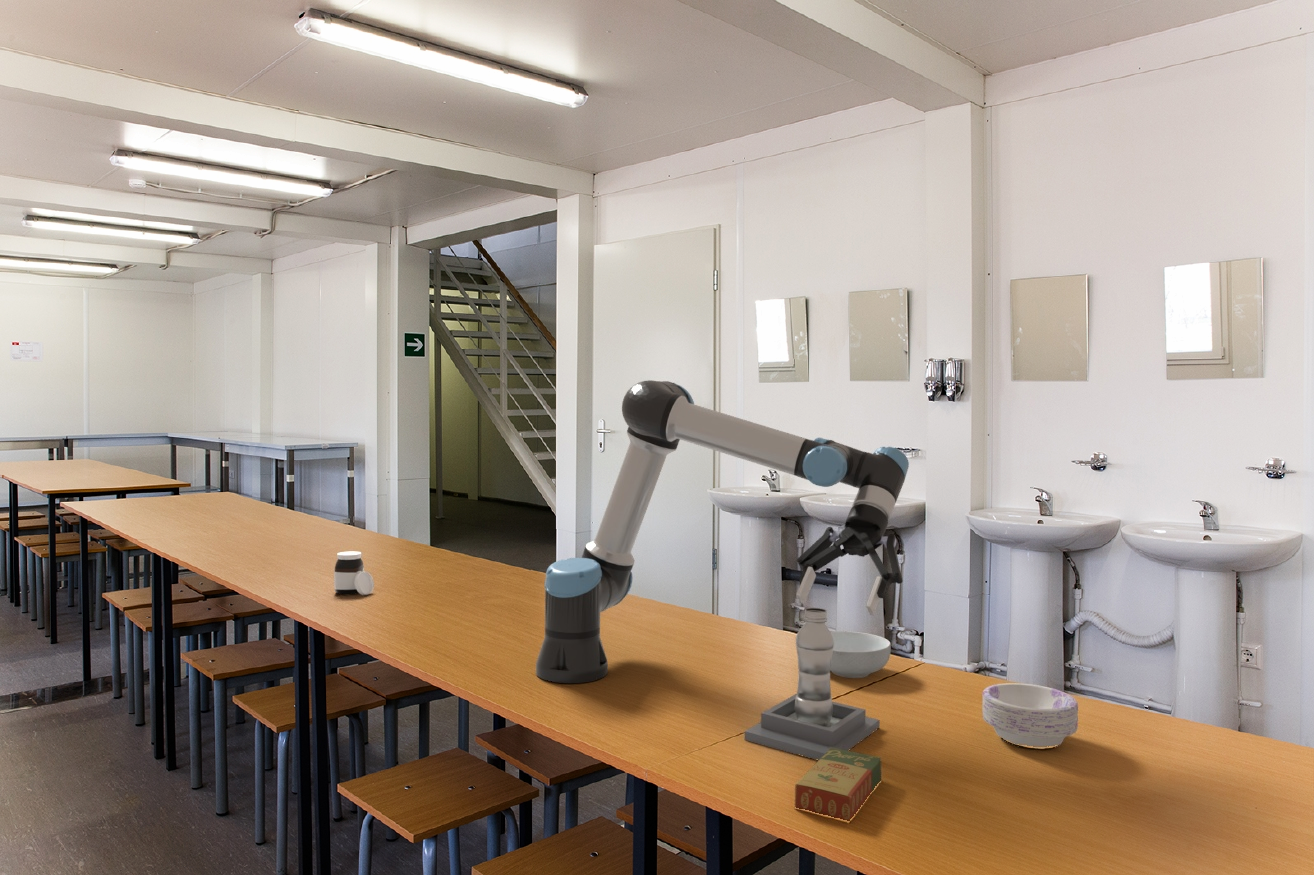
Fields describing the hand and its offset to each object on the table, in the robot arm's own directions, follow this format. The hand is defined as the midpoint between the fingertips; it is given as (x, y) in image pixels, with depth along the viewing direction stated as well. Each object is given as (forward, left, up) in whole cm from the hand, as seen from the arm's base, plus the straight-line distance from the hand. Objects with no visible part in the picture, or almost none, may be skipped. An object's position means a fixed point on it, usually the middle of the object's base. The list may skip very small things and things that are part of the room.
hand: (834, 605), depth 155 cm
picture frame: (-7, -3, -21) cm, 23 cm away
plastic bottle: (-7, -3, -20) cm, 21 cm away
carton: (-18, -23, -22) cm, 37 cm away
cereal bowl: (+23, +21, -22) cm, 38 cm away
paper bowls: (+25, -22, -22) cm, 40 cm away
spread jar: (-58, +145, -22) cm, 158 cm away
